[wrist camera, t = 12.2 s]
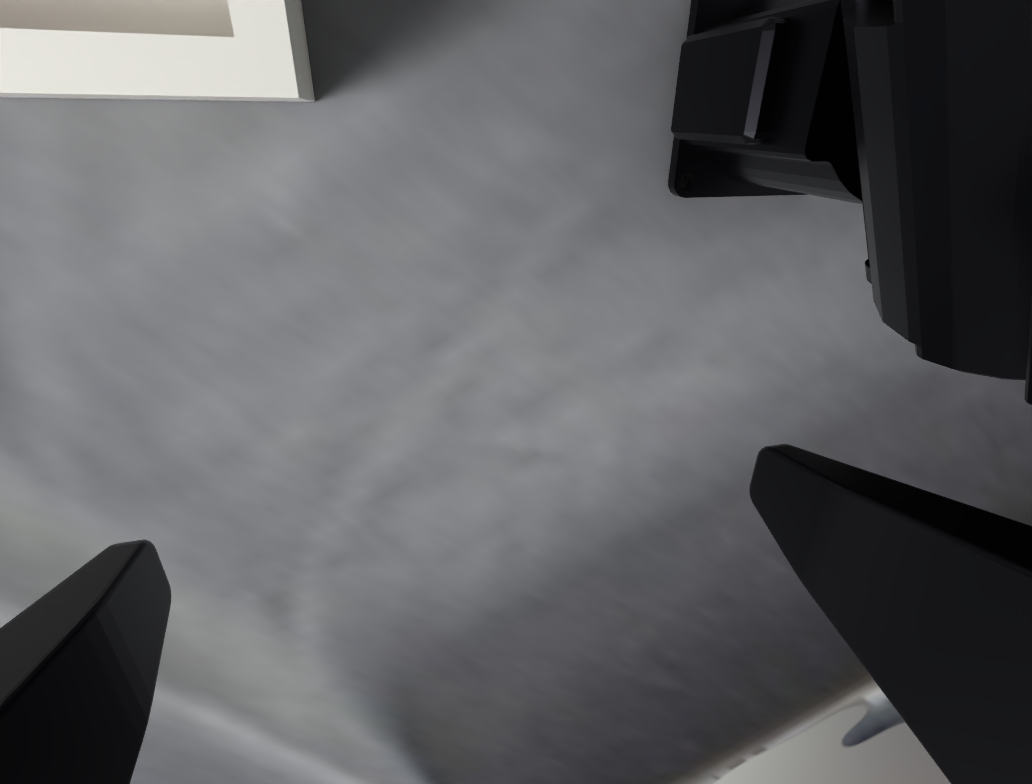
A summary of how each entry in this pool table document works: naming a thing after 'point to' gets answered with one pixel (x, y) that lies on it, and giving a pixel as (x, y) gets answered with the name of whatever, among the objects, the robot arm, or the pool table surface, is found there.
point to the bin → (155, 50)
